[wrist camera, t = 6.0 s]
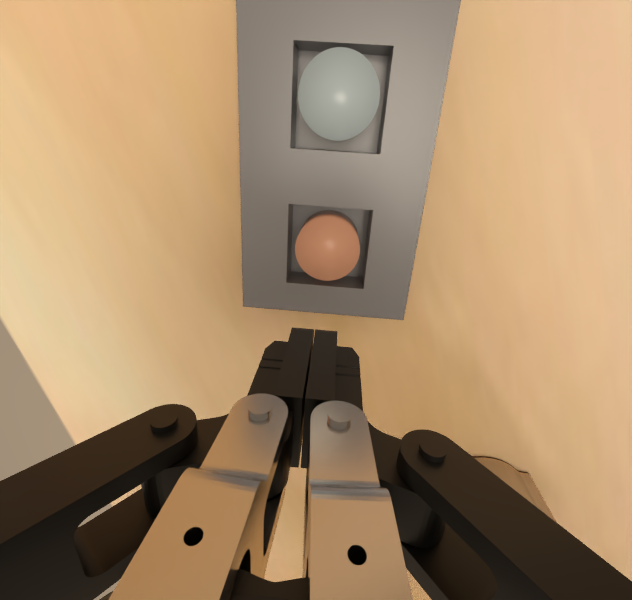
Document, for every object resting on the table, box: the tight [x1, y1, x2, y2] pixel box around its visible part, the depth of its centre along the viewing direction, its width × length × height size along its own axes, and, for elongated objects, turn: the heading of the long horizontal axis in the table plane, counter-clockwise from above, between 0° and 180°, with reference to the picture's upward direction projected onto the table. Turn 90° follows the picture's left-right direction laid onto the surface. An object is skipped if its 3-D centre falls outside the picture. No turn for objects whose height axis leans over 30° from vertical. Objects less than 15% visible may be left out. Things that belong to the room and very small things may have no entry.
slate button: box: [298, 47, 380, 141], centre depth 21 cm, size 4×4×3 cm
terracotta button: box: [295, 210, 360, 281], centre depth 26 cm, size 4×4×3 cm
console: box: [236, 0, 461, 320], centre depth 23 cm, size 12×28×3 cm, turn 176°
